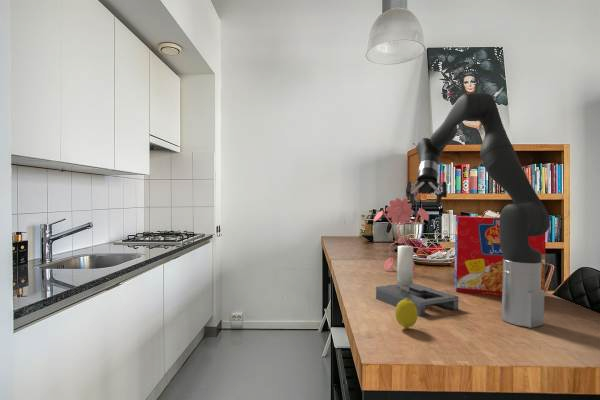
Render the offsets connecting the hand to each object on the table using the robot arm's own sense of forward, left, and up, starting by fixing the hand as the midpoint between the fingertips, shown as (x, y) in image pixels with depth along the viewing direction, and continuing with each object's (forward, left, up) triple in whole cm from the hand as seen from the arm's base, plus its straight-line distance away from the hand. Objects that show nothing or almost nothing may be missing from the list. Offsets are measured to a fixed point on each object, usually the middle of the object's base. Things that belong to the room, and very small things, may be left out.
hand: (425, 203), depth 128 cm
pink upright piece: (+32, -17, -33) cm, 49 cm away
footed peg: (-3, +12, -33) cm, 35 cm away
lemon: (-24, +31, -33) cm, 51 cm away
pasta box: (-10, -26, -33) cm, 43 cm away
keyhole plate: (-8, +12, -33) cm, 36 cm away
